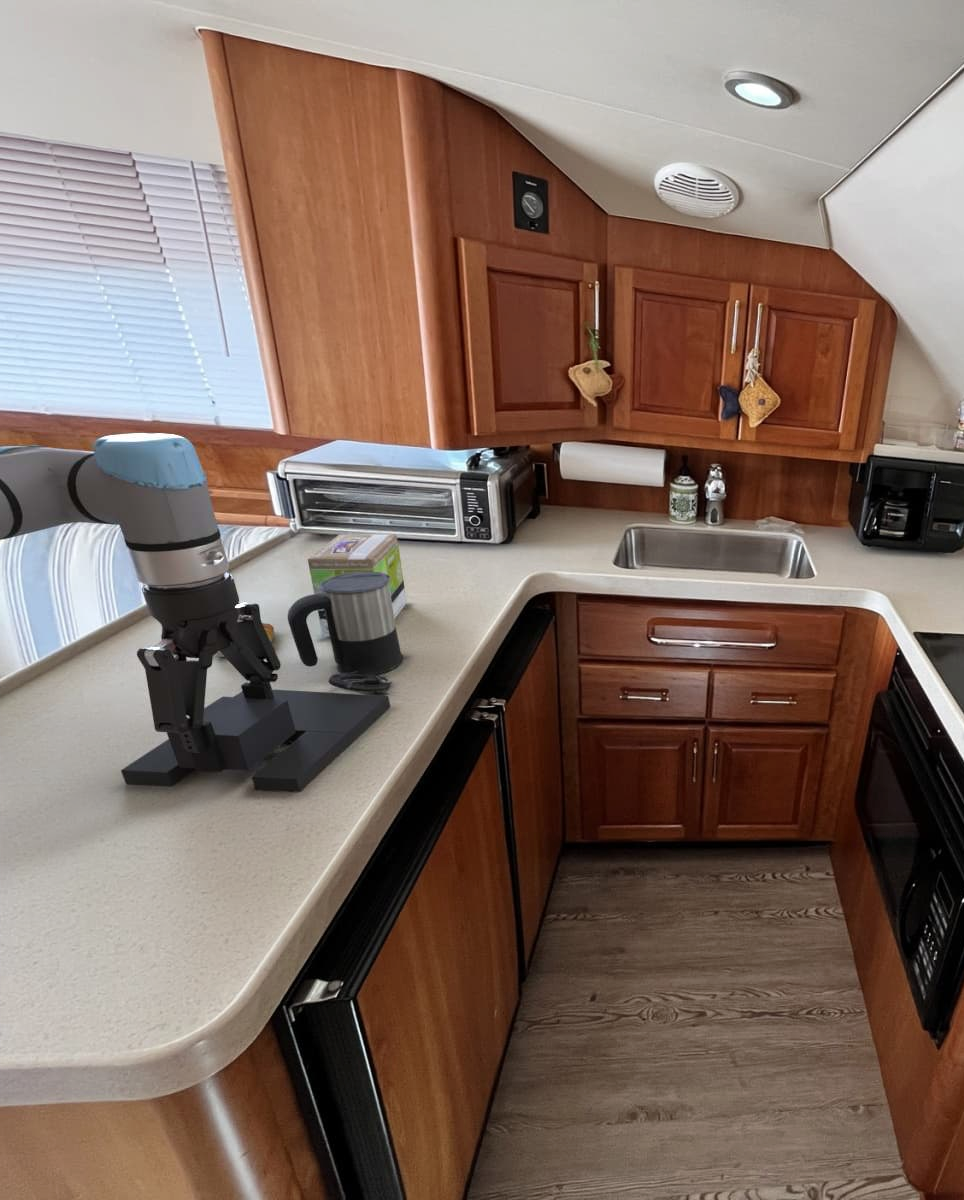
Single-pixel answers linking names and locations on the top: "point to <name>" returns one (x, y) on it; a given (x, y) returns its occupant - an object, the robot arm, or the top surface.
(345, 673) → the milk frother
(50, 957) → the top surface
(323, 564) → the tea box
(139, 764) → the dark notched slab
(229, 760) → the black block
